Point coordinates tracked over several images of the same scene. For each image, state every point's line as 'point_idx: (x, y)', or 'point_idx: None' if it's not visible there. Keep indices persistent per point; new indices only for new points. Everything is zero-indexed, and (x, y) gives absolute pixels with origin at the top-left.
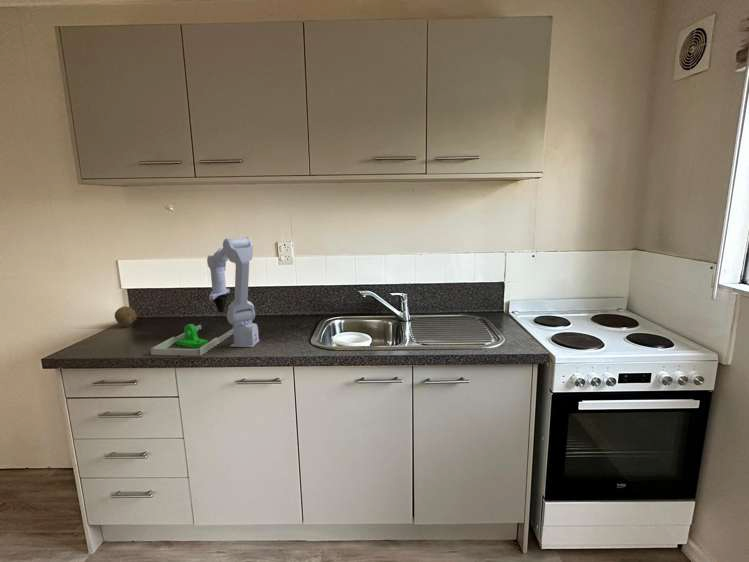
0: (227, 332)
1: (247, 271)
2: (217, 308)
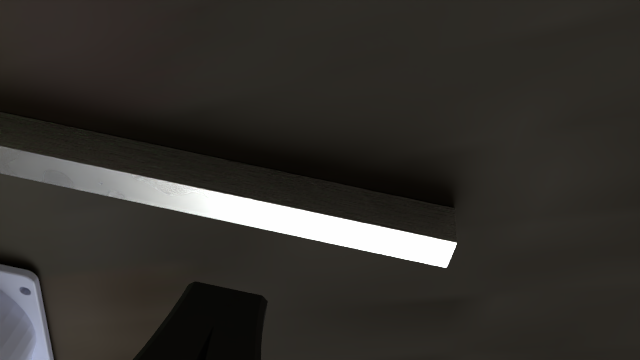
0: (139, 187)
1: None
2: (140, 355)
